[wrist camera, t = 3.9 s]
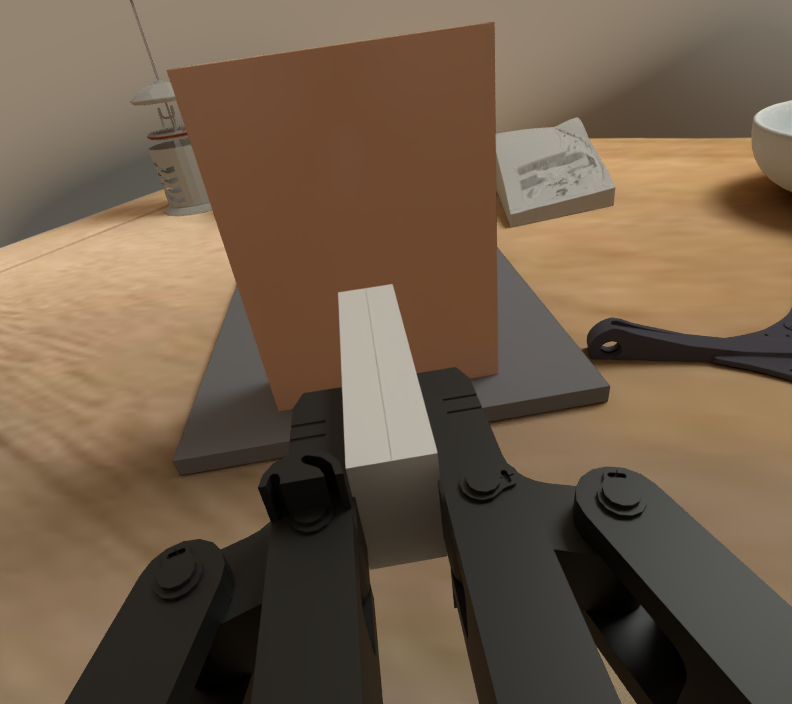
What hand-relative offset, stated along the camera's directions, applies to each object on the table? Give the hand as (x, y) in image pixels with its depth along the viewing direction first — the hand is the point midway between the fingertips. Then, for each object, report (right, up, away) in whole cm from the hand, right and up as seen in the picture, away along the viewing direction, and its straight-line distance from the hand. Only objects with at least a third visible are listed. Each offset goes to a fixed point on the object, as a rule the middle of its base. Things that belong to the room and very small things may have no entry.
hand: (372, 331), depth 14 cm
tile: (0, -2, +14) cm, 14 cm away
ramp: (+18, +18, +44) cm, 51 cm away
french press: (-27, +21, +57) cm, 66 cm away
